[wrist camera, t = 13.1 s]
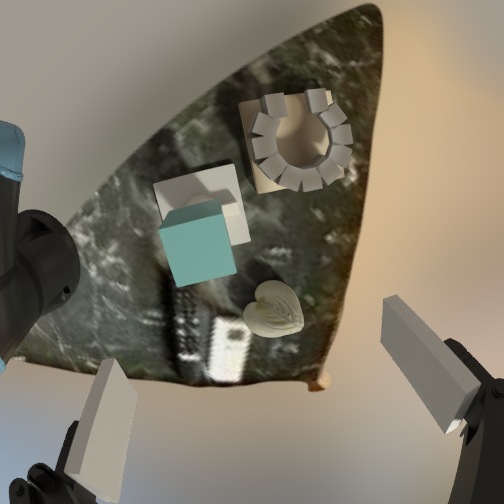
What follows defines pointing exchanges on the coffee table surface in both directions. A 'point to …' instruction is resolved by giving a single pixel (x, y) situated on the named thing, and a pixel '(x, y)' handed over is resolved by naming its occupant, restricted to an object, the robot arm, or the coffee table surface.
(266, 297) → the seashell
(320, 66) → the coffee table surface
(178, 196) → the mat
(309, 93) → the socket
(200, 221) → the plug
